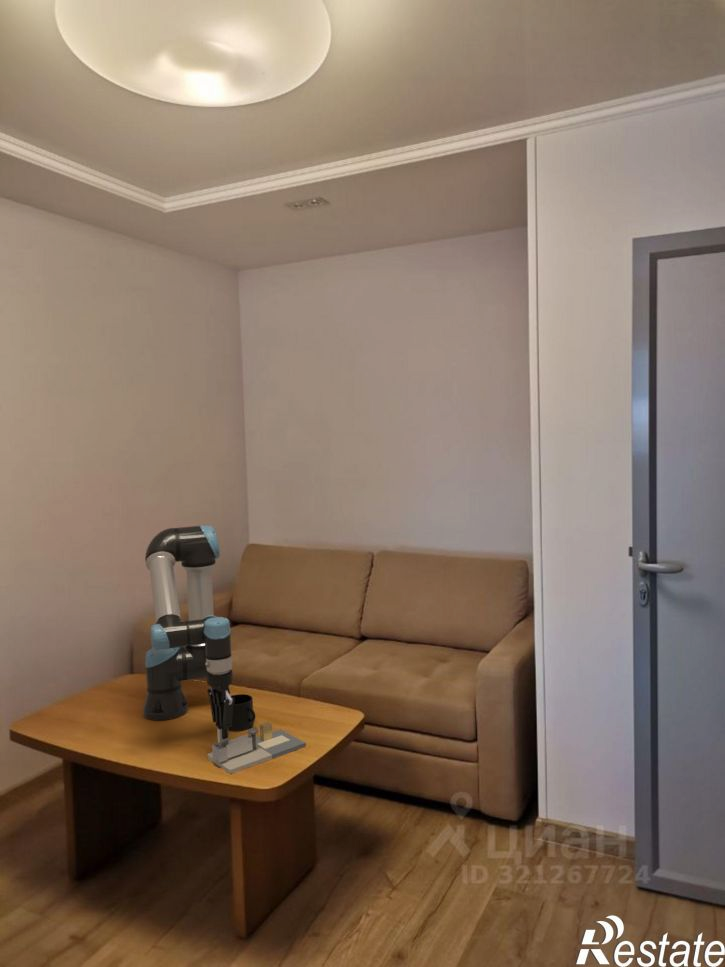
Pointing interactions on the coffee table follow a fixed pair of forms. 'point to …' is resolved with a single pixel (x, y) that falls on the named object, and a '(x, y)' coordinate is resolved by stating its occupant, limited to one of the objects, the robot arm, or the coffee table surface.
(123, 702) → the coffee table surface
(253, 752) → the door board
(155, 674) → the robot arm
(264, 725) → the block
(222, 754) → the bar
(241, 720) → the mug
